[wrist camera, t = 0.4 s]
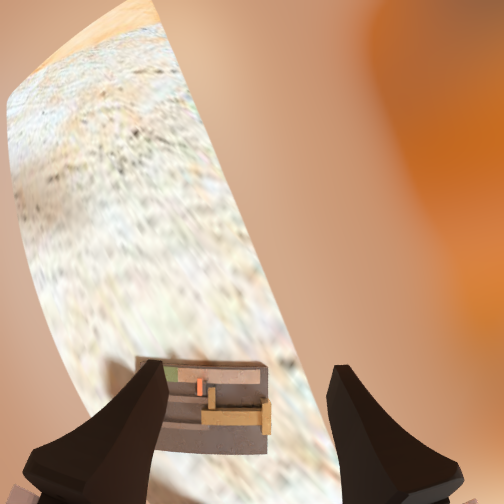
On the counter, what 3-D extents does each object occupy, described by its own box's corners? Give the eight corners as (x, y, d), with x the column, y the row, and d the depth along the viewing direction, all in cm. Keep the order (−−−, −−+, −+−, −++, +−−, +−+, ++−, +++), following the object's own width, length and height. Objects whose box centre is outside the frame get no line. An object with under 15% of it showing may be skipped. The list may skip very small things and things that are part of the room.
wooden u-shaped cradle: (267, 427, 35) (270, 434, 32) (203, 427, 34) (201, 434, 31) (268, 386, 36) (271, 390, 33) (202, 385, 35) (200, 389, 33)
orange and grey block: (206, 392, 35) (204, 396, 32) (197, 391, 35) (194, 396, 32) (206, 375, 36) (204, 379, 33) (196, 375, 36) (194, 378, 33)
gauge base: (266, 451, 35) (271, 466, 30) (145, 445, 34) (134, 459, 28) (267, 366, 38) (272, 371, 33) (142, 361, 37) (129, 365, 32)
